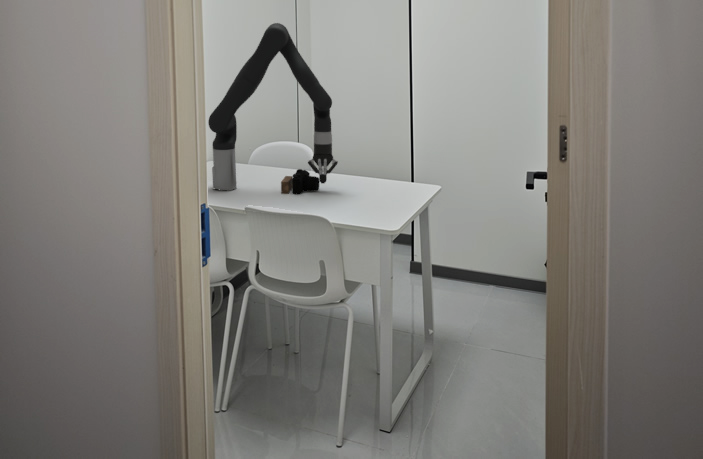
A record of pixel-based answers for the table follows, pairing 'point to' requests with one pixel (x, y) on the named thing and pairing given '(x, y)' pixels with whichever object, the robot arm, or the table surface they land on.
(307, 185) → the film camera
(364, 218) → the table surface
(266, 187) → the table surface
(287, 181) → the bar
